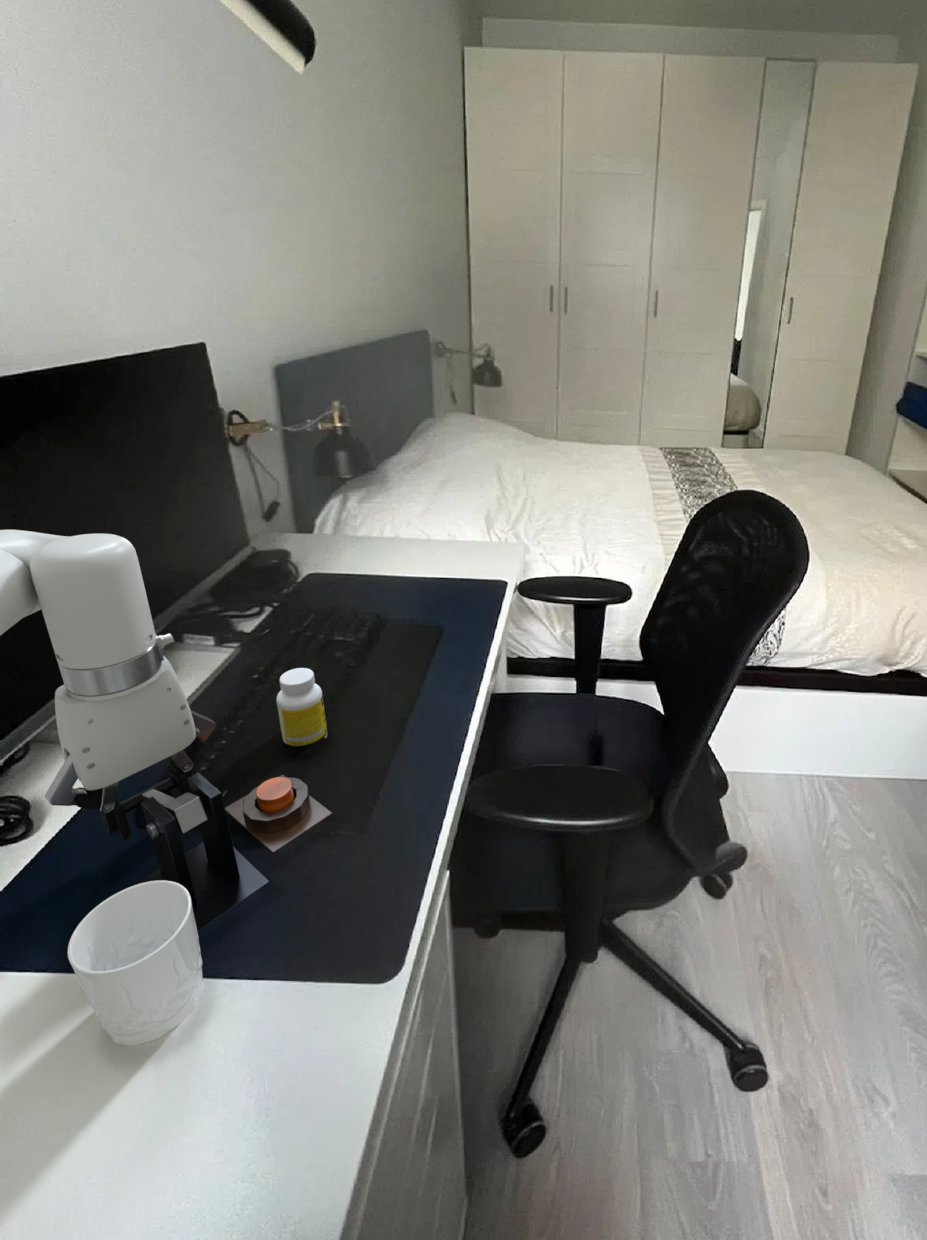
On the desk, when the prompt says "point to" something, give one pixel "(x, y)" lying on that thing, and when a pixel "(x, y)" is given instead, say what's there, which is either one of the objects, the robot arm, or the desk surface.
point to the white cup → (140, 961)
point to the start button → (275, 794)
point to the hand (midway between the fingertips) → (152, 813)
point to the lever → (172, 804)
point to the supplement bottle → (301, 708)
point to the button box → (279, 816)
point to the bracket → (202, 857)
